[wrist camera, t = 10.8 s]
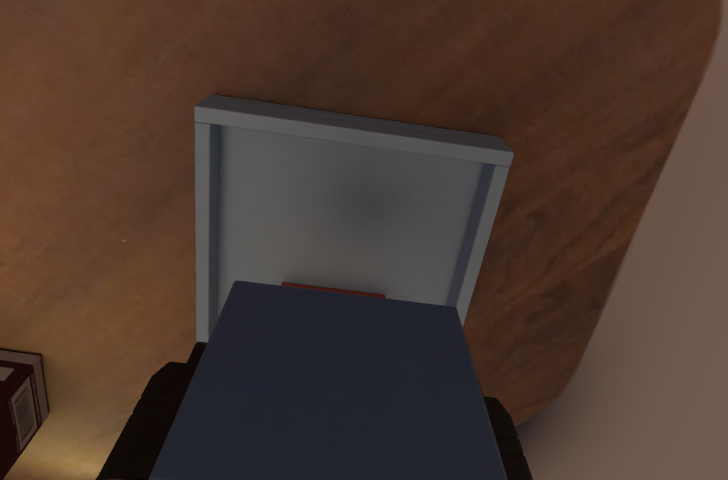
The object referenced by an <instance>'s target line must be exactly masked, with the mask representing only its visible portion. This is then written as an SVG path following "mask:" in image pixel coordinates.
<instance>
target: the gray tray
mask: <svg viewBox="0 0 728 480" xmlns="http://www.w3.org/2000/svg"><path fill="white" fill-rule="evenodd" d="M194 120H195V121H196V122H195V250H196V343H197V342H198V341H199V342H208V341H209V338H210V336H211V334H212V331H213V329H214V327H215V324H216V322H217V320H218V318H219V315H220V313H221V311H222V308H223V306H224V304H225V301H226V299H227V297H228V294H229V292H230V290H231V287H232V285H233V283H234V281H237V280H239V281H247V282H256V283H264V284H272V285H280V286H281V283H282V282H285V283H293V284H301V285H309V286H317V287H325V288H333V289H342V290H350V291H358V292H366V293H374V294H382V295H386V298H387V299H395V300H403V301H412V302H420V303H428V304H436V305H444V306H453V307H456V308H457V311H458V314H459V318H460V321H461V324H462V328H463V324H464V321H465V318H466V314H467V311H468V307H469V304H470V301H471V297H472V294H473V291H474V287H475V284H476V280H477V277H478V274H479V270H480V267H481V263H482V260H483V257H484V253H485V250H486V247H487V243H488V240H489V236H490V233H491V230H492V226H493V223H494V219H495V216H496V213H497V209H498V206H499V203H500V199H501V196H502V192H503V189H504V186H505V182H506V179H507V175H508V172H509V169H510V168H509V166H511V162H512V159H513V156H514V152H513V151H512V150H511V149H510V148H509V146H508V145H507V144H506V143H505V142H504V141H503V140H502V139H501V138H500V137H498V136H491V135H484V134H477V133H471V132H464V131H457V130H450V129H444V128H437V127H430V126H423V125H417V124H410V123H403V122H396V121H390V120H383V119H376V118H369V117H362V116H356V115H349V114H342V113H335V112H329V111H322V110H315V109H308V108H302V107H295V106H288V105H281V104H275V103H268V102H261V101H254V100H248V99H241V98H234V97H227V96H220V95H214V94H212V95H210V96H208V97H207V98H205V99H204V100H202V101H201V102H200V103H198V104H197V105H195V107H194Z"/></svg>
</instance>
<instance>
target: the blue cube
mask: <svg viewBox="0 0 728 480" xmlns="http://www.w3.org/2000/svg"><path fill="white" fill-rule="evenodd" d="M148 480H507V476H506V473H505V469H504V466H503V463H502V459H501V456H500V453H499V449H498V446H497V442H496V439H495V436H494V432H493V429H492V426H491V422H490V419H489V416H488V412H487V409H486V405H485V402H484V399H483V395H482V392H481V389H480V385H479V382H478V378H477V375H476V372H475V368H474V365H473V362H472V358H471V355H470V351H469V348H468V345H467V341H466V338H465V335H464V331H463V328H462V324H461V321H460V318H459V314H458V311H457V308H456V307H453V306H444V305H436V304H428V303H420V302H412V301H403V300H395V299H387V298H379V297H371V296H362V295H354V294H346V293H338V292H330V291H321V290H313V289H305V288H297V287H288V286H280V285H272V284H264V283H256V282H247V281H239V280H237V281H234V283H233V285H232V287H231V290H230V292H229V294H228V297H227V299H226V301H225V304H224V306H223V308H222V311H221V313H220V315H219V318H218V320H217V322H216V324H215V327H214V329H213V331H212V334H211V336H210V338H209V341H208V343H207V345H206V348H205V350H204V352H203V355H202V357H201V359H200V362H199V364H198V366H197V368H196V371H195V373H194V375H193V378H192V380H191V382H190V385H189V387H188V389H187V392H186V394H185V396H184V399H183V401H182V403H181V405H180V408H179V410H178V412H177V415H176V417H175V419H174V422H173V424H172V426H171V429H170V431H169V433H168V436H167V438H166V440H165V442H164V445H163V447H162V449H161V452H160V454H159V456H158V459H157V461H156V463H155V466H154V468H153V470H152V473H151V475H150V477H149V479H148Z"/></svg>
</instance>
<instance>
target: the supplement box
mask: <svg viewBox="0 0 728 480" xmlns="http://www.w3.org/2000/svg"><path fill="white" fill-rule="evenodd" d="M47 417H48V409H47V401H46V393H45V386H44V377H43V369H42V363H41V357H40V356H39V355H32V354H24V353H17V352H9V351H2V350H0V480H3V479H4V477H5V476H6V474H7V473H8V472H9V470H10V469H11V467H12V466H13V465H14V463H15V462H16V461H17V459H18V458H19V456H20V455H21V454H22V452H23V451H24V450H25V448H26V447H27V445H28V444H29V442H30V441H31V440H32V438H33V437H34V435H35V434H36V432H37V431H38V430H39V428H40V427H41V426H42V424H43V423H44V421H45V420H46V419H47Z"/></svg>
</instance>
